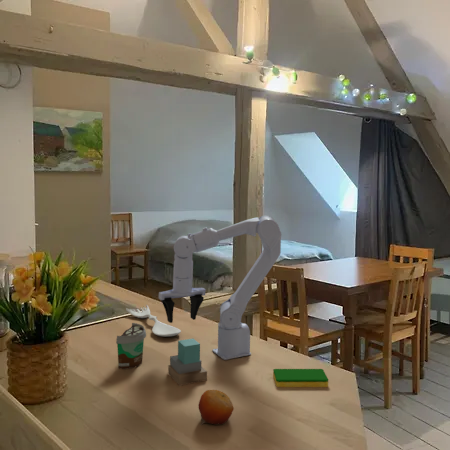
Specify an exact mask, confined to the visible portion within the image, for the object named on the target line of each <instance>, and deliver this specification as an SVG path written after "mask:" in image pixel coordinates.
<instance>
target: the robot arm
mask: <svg viewBox="0 0 450 450" xmlns="http://www.w3.org/2000/svg"><path fill="white" fill-rule="evenodd" d="M243 235H248V236H252V237H256V236H257V235H258V237H259V238H260V241H261V246H262V249H263V250H262V252H261V253H260V254H259V256H258V257H257V259H256V260H255V262H254V264H253V265H252V266H251V268H250V269H249V271H248V272H247V274H246V275H245V276H244V278H243V280H242V281H241V282H240V284H239V286H238V287H237V289H236V290H235V292H234V293H232V294H231V295H230V296H229V298H228V299H227V300H225V301H223V302H222V303H221V305H220V307H219V313H220V315H219V322H218V324H217V325H218V326H217V348H213V349H212V350H211V351H212V352H213V353H215V354H216V355H217V356H218V357H220V359H222V360H225V361H227V360H231V359H236V358H242V357H246V356H250V355H252V352H251V330H250V327H249V326H248V324H247V323H245V322H244V323H243V322H242V317H243V314H244V313H245V311H246V308H247V305H248V303H249V302H250V300H251V299H252V297H253V295H255V293H256V291H257V290H258V289H259V287H260V285H261V284H262V282H263V281H264V279H265V278H266V277H267V275H268V273H269V272H270V271H271V269H272V268H273V266H274V265H275V263H276V262H277V260H278V259H279V258H280V256H281V252H282V251H281V250H282V248H281V246H282V245H281V244H282V241H281V240H282V232H281V228H280V227H279V224H278V223H277V222H276V221H275V219H274V218H273V217H272V216H270V215H261V216H259V217H253V218H248V219H245V220H241V221H240V222H237V223H234V224H231V225H228V226H225V227H223V228H220V229H218V230H216V229H214V228H212V227H209V228H208V227H207V226H205V227H203V228H202V230H200V231H196V232H193V233H191V232H189V233H187V235H181V236H178V238H177V239H176V240H175V242H174V244H173V251H174V255H173V257H174V258H173V259H174V260H173V278H172V279H173V280H172V289H169V290H165V291H159V292H158V299H159V300H160V302H161V303H162V305H163V307H164V311H165V313H166V318H167V322H168V323H170V324H172V323H174V321H173V320H174V307H175V301H174V300H173V299H178V298H185V297H189V302H190V303H189V304H190V319H191V320H195V321H196V318H197V315H198V311H199V309H200V307H201V305H202V303H203V302H204V298H205V297H204V296H206V288H204V287H193V278H194V277H193V274H194V270H193V269H194V260H193V253H200V252H203V251H206V250H209V249H212V248H215V247H218V245H219V243H220V241H223V240H224V241H225V240H228V239H231V238H235V237H238V236H239V237H240V236H243Z"/></svg>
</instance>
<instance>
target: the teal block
mask: <svg viewBox="0 0 450 450" xmlns="http://www.w3.org/2000/svg"><path fill="white" fill-rule="evenodd" d="M177 355H178V359H179V360H180V361H181V362H182V363H183V364H190V363H195V362H200V360H201V343H200V342H198V341H197V340H196V339H195V338H188V339H180V340H178V341H177Z"/></svg>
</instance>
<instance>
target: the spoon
mask: <svg viewBox="0 0 450 450" xmlns="http://www.w3.org/2000/svg"><path fill="white" fill-rule="evenodd" d="M125 310H126V312H127V313H129V314H130V315H132V316H134V317H135V318H139V319H145V318H148V320H150V321H154V324H153V327H152V328H151V332H152V333H153V334H154V335H156V336H158V337H166V338H167V337H168V338H169V337H174V336H177V335H179V334H181V332H182V330H181V329H180V328H178V327H175V326H172V325H170V324H168V323H167V324H166V323H164V322H161V321H160V320H158V316H156V315H152V314H151V310H150V306H149V305H147V304H145V306H143V308H142V307H140V309H139V308H136V309H134V308H132V309H131V308H127V307H125Z"/></svg>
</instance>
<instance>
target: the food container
mask: <svg viewBox="0 0 450 450" xmlns="http://www.w3.org/2000/svg"><path fill="white" fill-rule="evenodd" d="M146 337H147V333H146V329H145V327H144V325H142V324H140V323H135V322H132V323H131V326H130V327H129V328H128V329H126V330H124V332H123V333H122V334H121V335H116V340H115V341H116V345H117V362H118V369H119V370H124V369H133V368H137V367H138V366H140V365H142V364H143V358H144V357H143V355H144V344H145V343H144V342H145V338H146Z"/></svg>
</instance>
